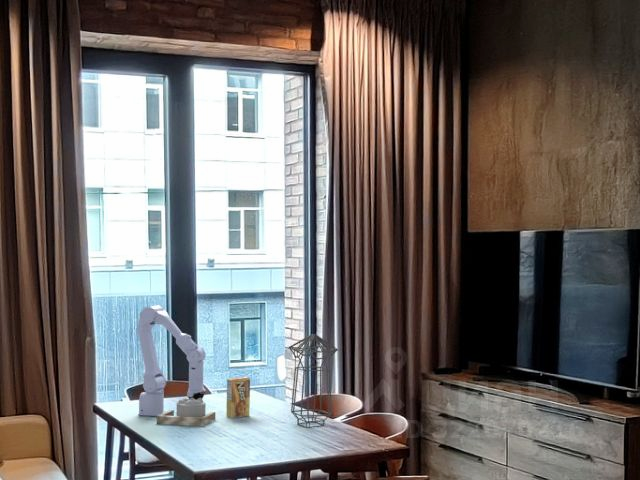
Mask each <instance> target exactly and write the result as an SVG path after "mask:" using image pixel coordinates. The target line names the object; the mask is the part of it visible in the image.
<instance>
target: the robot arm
mask: <svg viewBox="0 0 640 480" xmlns="http://www.w3.org/2000/svg"><path fill="white" fill-rule="evenodd" d="M156 324H157V325H162V326H163V327H164V328H165V329H166V330H167V331H168V332H169V334H170V335H172V336H173V337H174V338H175V344H176V345H177V346H178V347H179V348H180V350H181V351H182V352H183V353H184V354H185V355H186V360H187V362H188V389H187V390H188V391H186V398H187V399H189V398H191V397H193V398H194V399H195V400H197V399H198V398H201V399H202V400H203V398H204V397H205V393H203V392H206V391H207V389H206V388H205V386H204V360H205V359H206V355H207V354H206V352H205V349H204V348H202V347H200V346H199V344H197V343H196V342H195V341H194V340H193V339H192V336H191V334H188V333H183V331H182V330H180V328H179V327H178V326H177V324H176V323H175V322H174V320H173V319H172V318H171V317H170V316H169V313H168V312H167V311H166V310H165V309H164V308H163V307H162V306H161V305H158V304H157V305H153V306H145V307H143V309H142V310H141V311H140V312H139V319H138V324H137V328H136V329H137V333H138V339H139V345H140V351H141V354H142V358H143V364H144V369H145V370H144V374H143V382H142V388H143V389H144V391H143V392H141V393H140V395H139V396H138V397H139V399H138V416H148V417H157V416H158V415H160V414H162V413H165V412H166V411H164V406H165V405H164V401H165V400H164V398H165V397H164V395H165V394H164V393H165V390H164V389H165V388H166V386H167V378H166V377H165V376H164V374H163V371H162V369H161V368H160V366H159V363H158V357H157V352H156V348H155V347H156V346H155V342H154V338H153V331H152V329H153V328H154V327H155V326H156Z"/></svg>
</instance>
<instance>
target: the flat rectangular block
mask: <svg viewBox="0 0 640 480" xmlns="http://www.w3.org/2000/svg"><path fill="white" fill-rule="evenodd" d="M164 412H165V413H162V414H160V415H158V416H156V424H157V425H170V426H171V425H175V426H189V427H191V426H194V427H205V426H207V425H209V424H210V423H212V422H214V421H216V412H215V411H211V412H209V413H207V414H205V416H203V417H182V416H177V415H175V409H169V410H167V411H164Z"/></svg>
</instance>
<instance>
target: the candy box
mask: <svg viewBox="0 0 640 480" xmlns="http://www.w3.org/2000/svg"><path fill="white" fill-rule="evenodd" d="M250 392H251V378H250V377H245V376H243V377H235V378H234V377H233V378H227V379H226V412H225V413H226V417H227V418H229V419H230V418H231V419H236V418H241V417H242V418H243V417H248V416H249V417H250V405H251V404H250V403H251V402H250V401H251V400H250V397H251V395H250V394H251V393H250Z"/></svg>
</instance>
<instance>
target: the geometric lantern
mask: <svg viewBox="0 0 640 480" xmlns="http://www.w3.org/2000/svg"><path fill="white" fill-rule="evenodd" d="M298 344H299V345H298ZM312 344H313V346H312ZM297 345H298V346H297ZM287 348H288V349H289V350H290V351H291V353H292V355H293V356H294V373H293V384H292V397H291V409H290V412H291V414H292V415H293V416H294V417H295V419H296V421H297V422H296V423H297V424H296V425H297V426H300V427H304V428H305V429H306V428H308V429H309V428H317V427H318V428H319V426H320V427H325V422H326V420H327V419H328V418H329V417H330V416H331V415H332V392H331V391H332V388H331V387H332V386H331V384H332V383H331V381H332V380H331V371H332V370H331V368H329V367H330V364H329V361H330V359H332V357H333V356H334V355H335V354H336V353H337V352H338V351H339V350H340V349H338V348H337V347H335V346H334V345H333V344H332V343H330V342H328V341H326V339H324V338H322V337H321V336H319V335H318V334H315V333H313V334H309V335H308V336H306V337H304V338H302V339H300V340H299V341H297V342H295V343H293V344H292V345H290V346H288V347H287ZM318 349H320V350H318ZM304 352H308V354H305V353H304ZM298 353H299V354H298ZM313 353H315V355H314V354H313ZM317 353H322V357H318V354H317ZM303 357H309V358H310V360H311V363H310V365H308V366H304V365H303V363H302V359H303ZM312 357H313V358H314V359H312ZM296 359H298V361H299V362H298V364H296V363H297V362H296V361H297V360H296ZM315 360H316V361H318V360H322V362H321V364H320V366H317V365H316V364H315ZM326 360H327V362H326ZM312 364H314V366H312ZM296 365H297V366H296ZM300 365H301V366H300ZM323 365H325V367H323ZM310 368H311V369H310ZM312 368H313V369H312ZM314 368H315V369H314ZM299 370H300V371H303V375H302V387H301V400H300V401H301V403H300V409H298V410H297V409H295V407H296V397H297V390H298V389H297V387H298V386H297V385H298V380H299V379H298V377H299V376H298V375H299ZM305 372H307V373H306V375H307V376H306V379H307V380H306V381H307V382H306V383H307V384H306V386H307V390H306V392H307V393H306V395H307V397H306V400H307V401H306V402H307V403H306V409H303V405H304V404H303V402H304V391H305V389H304V388H305V387H304V386H305ZM310 372H315V380H314V381H315V383H314V397H313V409H312V408H311V409H310V408H309V407H310V406H309V405H310V404H309V402H310V401H309V397H310V396H309V394H310V393H309V390H310V389H309V388H310V387H309V382H310V380H309V378H310V375H309V374H310ZM318 372H319V409H316V398H317V397H316V396H317V395H316V394H317V382H318V381H317V380H318V379H317V378H318V377H317V376H318ZM322 372H326V387H327V388H326V393H327V411H325V410H322ZM299 412H300V414H299ZM303 412H306V413H307V414H304V415H303ZM310 412H312V414H310ZM315 412H317V414H315ZM320 413H324V414H320ZM320 417H325V418H324V419H323V418H320ZM306 419H307V420H306ZM310 419H311V420H310ZM300 421H302V422H300ZM310 423H316V424H319V425H313V426H311V424H310ZM304 424H305V425H304Z"/></svg>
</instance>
